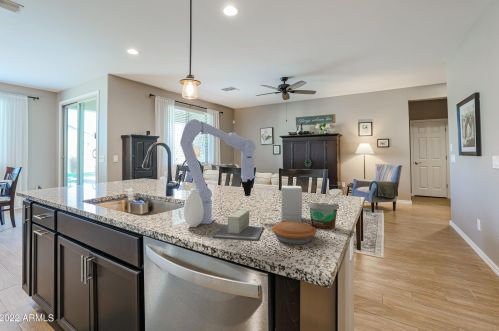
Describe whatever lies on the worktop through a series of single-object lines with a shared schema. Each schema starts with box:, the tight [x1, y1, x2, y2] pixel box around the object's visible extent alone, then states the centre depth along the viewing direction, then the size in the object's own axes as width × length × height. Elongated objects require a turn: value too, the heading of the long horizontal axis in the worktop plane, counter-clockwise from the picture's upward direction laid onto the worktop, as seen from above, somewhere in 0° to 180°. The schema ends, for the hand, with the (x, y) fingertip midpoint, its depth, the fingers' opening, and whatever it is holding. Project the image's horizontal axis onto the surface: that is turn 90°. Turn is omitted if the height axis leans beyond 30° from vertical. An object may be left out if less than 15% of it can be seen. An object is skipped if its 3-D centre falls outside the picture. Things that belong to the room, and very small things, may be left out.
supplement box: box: [281, 185, 303, 222], centre depth 109 cm, size 9×9×15 cm
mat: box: [212, 224, 264, 242], centre depth 90 cm, size 16×15×1 cm
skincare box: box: [227, 209, 250, 234], centre depth 93 cm, size 6×4×12 cm
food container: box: [307, 200, 340, 230], centre depth 96 cm, size 12×6×10 cm, turn 62°
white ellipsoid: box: [183, 182, 204, 228], centre depth 98 cm, size 8×8×18 cm
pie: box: [271, 221, 318, 245], centre depth 84 cm, size 16×16×5 cm
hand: (247, 195), depth 111 cm, fingers closed
